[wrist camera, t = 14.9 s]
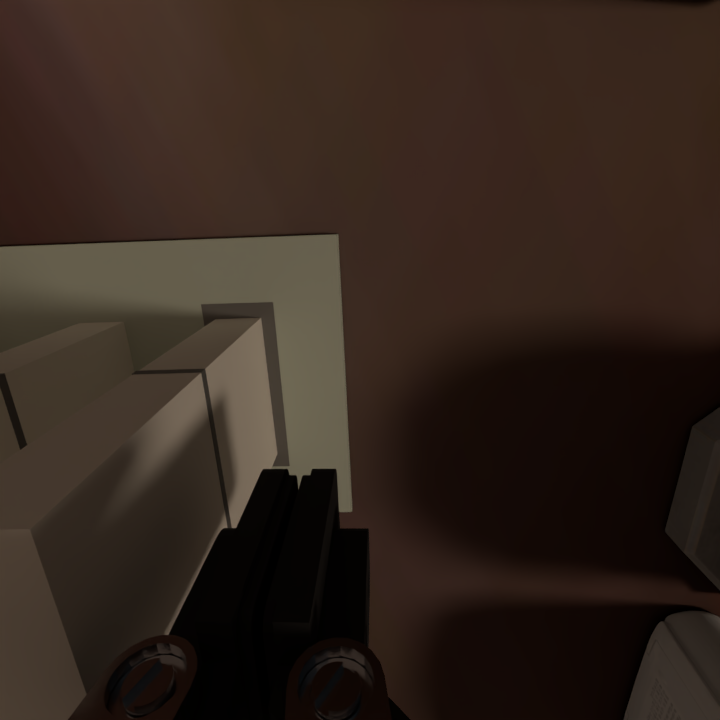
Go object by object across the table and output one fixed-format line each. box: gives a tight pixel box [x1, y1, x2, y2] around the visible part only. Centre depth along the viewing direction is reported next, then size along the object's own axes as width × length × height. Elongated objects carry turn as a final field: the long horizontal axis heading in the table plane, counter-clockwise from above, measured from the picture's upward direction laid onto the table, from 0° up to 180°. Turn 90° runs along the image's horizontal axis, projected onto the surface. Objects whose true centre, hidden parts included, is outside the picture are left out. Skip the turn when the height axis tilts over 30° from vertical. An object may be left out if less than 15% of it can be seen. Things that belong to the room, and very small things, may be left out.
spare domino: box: [0, 318, 277, 720], centre depth 12 cm, size 6×2×12 cm, turn 3°
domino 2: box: [0, 322, 134, 463], centre depth 13 cm, size 6×2×12 cm, turn 2°
